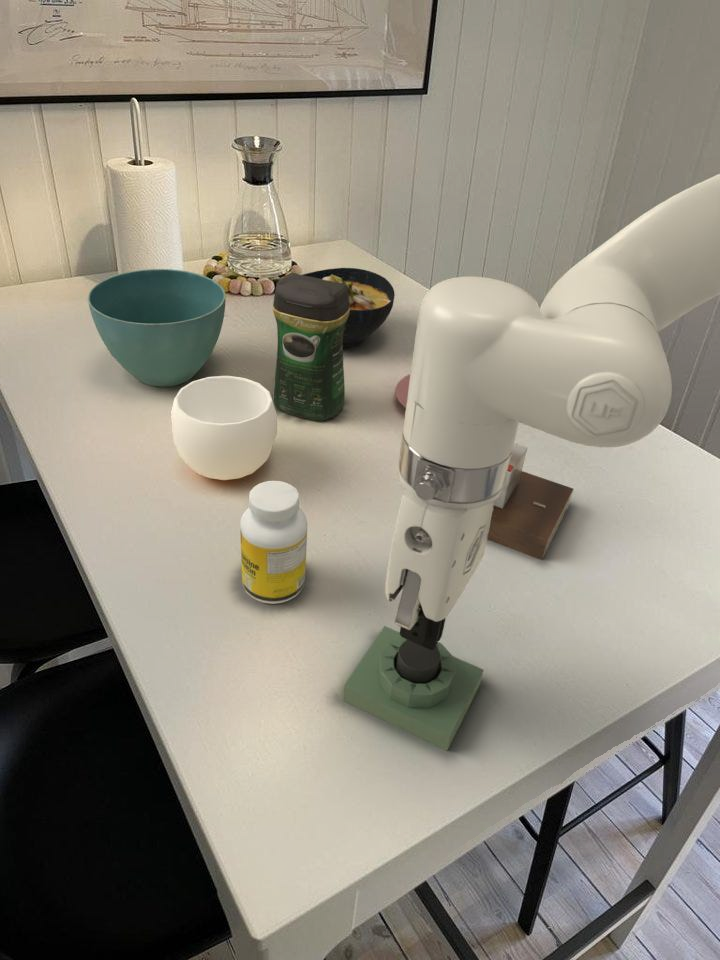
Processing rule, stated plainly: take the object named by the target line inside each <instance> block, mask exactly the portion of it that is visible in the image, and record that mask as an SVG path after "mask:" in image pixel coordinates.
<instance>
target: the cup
mask: <svg viewBox="0 0 720 960" xmlns="http://www.w3.org/2000/svg"><path fill="white" fill-rule="evenodd" d="M170 420H171V431H172V438H173V439H172V440H173V444H174V446H175V448H176V450H177V452H178V454H179V458H180V459H181V460H182V461H183V462H184V463H185V464H186V465H187V466H188V467H189V468H190V469H191V470H192V471H194V472H195V473H196V474H198V475H200V476H202V477H205V478H207V479H212V480H213V479H214V480H220V481H230V480H236V479H242V478H244V477H247V476H249V475H252V474H254V473H255V472H256V471H257V470H259V468H261V467H262V466H263V465H264V464H265V463H266V462H267V461H268V459H269V457H270V455H271V453H272V449H273V446H274V443H275V441H276V438H277V436H278V413H277V411H276V406H275V405H274V402H273V398H272V395H271V392H270V390H268V389H267V388H266V387H264V386H263V385H262V384H261V383H259V382H257V381H254V380H251V379H249V378H246V377H241V376H232V375H219V376H218V375H217V376H216V375H214V376H207V377H204V378H200V379H197V380H193V381H191V382H189V383H188V384H186V385H184V386H183V387H181V388H180V389H179V390H178V392H177V394H176V395H175V397H174V398H173V402H172V406H171V411H170Z"/></svg>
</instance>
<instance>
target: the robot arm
mask: <svg viewBox="0 0 720 960" xmlns="http://www.w3.org/2000/svg"><path fill="white" fill-rule="evenodd" d="M719 295H720V173H718V174H715V175H714V176H711V177H709V178H707V179H705V180H703V181H701V182H699V183H696V184H694V185H692V186H690V187H688V188H686V189H684V190H682V191H680V192H679V193H676V194H674V195H673V196H671V197H669V198H667V199H665V200H664V201H662V202H660V203H658V204H657V205H655V206H654V207H652V208H651V209H649V210H648V211H646V212H645V213H642V214H641V215H640V216H638V217H637V218H636V219H634V220H633V221H631V222H630V223H628V224H627V225H626V226H624V227H623V228H622V229H620V230H619V231H618V232H616V233H615V234H614V235H613V236H611V237H610V238H609V239H607V240H606V241H604V242H603V243H602V244H600V245H599V246H598V247H596V248H595V249H594V250H592V251H591V252H590V253H588V254H587V255H586V256H585V257H582V259H581V260H580V261H578V262H577V263H576V264H575V265H573V266H572V267H571V268H570V269H568V270H567V271H566V272H565V273H564V274H563V275H562V276H561V277H560V278H559V279H558V280H557V281H556V282H555V283H554V285H553V286H552V287H551V288H550V289H549V291H548V292H547V293H546V294H545V296H544V299H543V301H542V303H541V305H540V306H539V304H538V302H537V301H536V299H535V298H534V297H533V296H532V295H531V294H530V293H529V292H527V290H524V289H523V288H521V287H519V286H517V285H515V284H513V283H510V282H506V281H503V280H500V279H496V278H491V277H486V276H485V277H484V276H457V277H451V278H447V279H444V280H442V281H440V282H438V283H435V284H434V285H433V286H432V287H431V288H430V289H429V290H428V291H427V292H426V293H425V295H424V297H422V300H421V303H420V307H419V312H418V316H417V321H416V330H415V331H416V332H415V336H414V345H413V351H412V361H411V367H410V373H409V374H410V381H409V389H408V397H407V405H406V408H405V412H404V420H403V428H402V434H401V440H400V441H401V442H400V448H399V449H400V450H399V457H398V464H397V476H398V479H399V482H400V484H401V485H402V487H403V492H402V496H401V500H400V504H399V509H398V510H397V516H396V521H395V525H394V530H393V535H392V539H391V545H390V550H389V556H388V562H387V567H386V573H385V574H386V575H385V583H384V585H385V586H384V588H385V589H384V592H385V596H386V599H387V600H388V602H392V601H395V600H396V598H397V597H398V595H399V594H400V593H401V596H400V599H399V603H398V608H397V612H396V615H395V619H394V625H396V626H399V627H400V629H399V633H400V635H401V637H403V638H405V639H407V640H409V641H411V642H413V643H416V644H418V645H421V646H423V647H425V648H427V649H429V650H434V649H435V647H436V645H437V642H440V641H441V639H442V637H443V632H444V629H445V624H446V619H447V617H448V616H449V614H450V613H451V612H452V610H453V609H454V607H455V606H456V604H457V602H458V601H459V599H460V597H461V595H462V594H463V592H464V591H465V589H466V587H467V586H468V584H469V583H470V580H471V579H472V577H473V575H474V574H475V572H476V570H477V569H478V566H479V565H480V563H481V561H482V559H483V557H484V554H485V552H486V548H487V543H488V540H487V538H488V533H489V528H490V522H491V517H492V511H493V506H494V500H496V499H497V498H498V497H499V496H500V494H501V493H502V490H503V487H504V483H505V478H506V474H507V470H508V466H509V461H510V457H511V453H512V449H513V445H514V443H515V440H516V436H517V433H518V428H519V423H520V424H523V425H525V426H528V427H530V428H533V429H536V430H539V431H541V432H544V433H546V434H549V435H551V436H554V437H557V438H560V439H563V440H566V441H568V442H571V443H575V444H578V445H582V446H588V447H594V448H608V449H609V448H610V449H611V448H617V447H618V448H619V447H625V446H629V445H631V444H634V443H637V442H639V441H641V440H642V439H644V438H646V437H647V436H649V435H650V434H651V433H653V432H654V431H655V430H656V429H657V428H658V427H659V426H660V425H661V423H662V422H663V421H664V418H665V417H666V415H667V413H668V411H669V407H670V404H671V401H672V400H671V399H672V393H673V385H672V374H671V370H670V366H669V362H668V359H667V356H666V353H665V350H664V347H663V344H662V340H661V336H660V331H661V330H663V329H665V328H667V327H668V326H669V325H671V324H672V323H674V322H675V321H677V320H678V319H680V318H681V317H683V316H684V315H686V314H687V313H689V312H691V311H692V310H694V309H695V308H697V307H699V306H701V305H703V304H705V303H706V302H708V301H709V300H713V299H714V298H716V297H717V296H719ZM401 591H402V592H401Z"/></svg>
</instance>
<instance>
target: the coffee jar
mask: <svg viewBox="0 0 720 960" xmlns="http://www.w3.org/2000/svg"><path fill="white" fill-rule="evenodd" d="M272 312H273V315H274V318H275V322H276V328H277V329H276V330H277V350H276V361H275V362H276V363H275V373H274V381H273V394H272V397H273V398H272V400H273V403H274V407H275V408H276V409H277V410H278V411H281V412H282V413H286V414H288V415H291V416H294V417H299V418H301V419H302V418H303V419H308V420H312V421H321V422H322V421H326V420H328V419H332V418H333V417H335V416H336V415H338V414H339V413H340V412H341V410H342V409H343V406H344V405H345V398H346V397H345V395H346V390H345V370H344V349H343V330H344V325H345V323H346V321H347V319H348V316H349V312H350V303H349V292H348V287H347V285H346V284H345V283H338V282H332V281H327V280H323V279H318V278H313V277H308V276H303V274H299V273H296V272H295V271H291V272H289V273H287V274H286V275H284V276H283V277H282V278H280V279H279V280H278V281H277V283H276V285H275V289H274V296H273V303H272Z"/></svg>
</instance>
